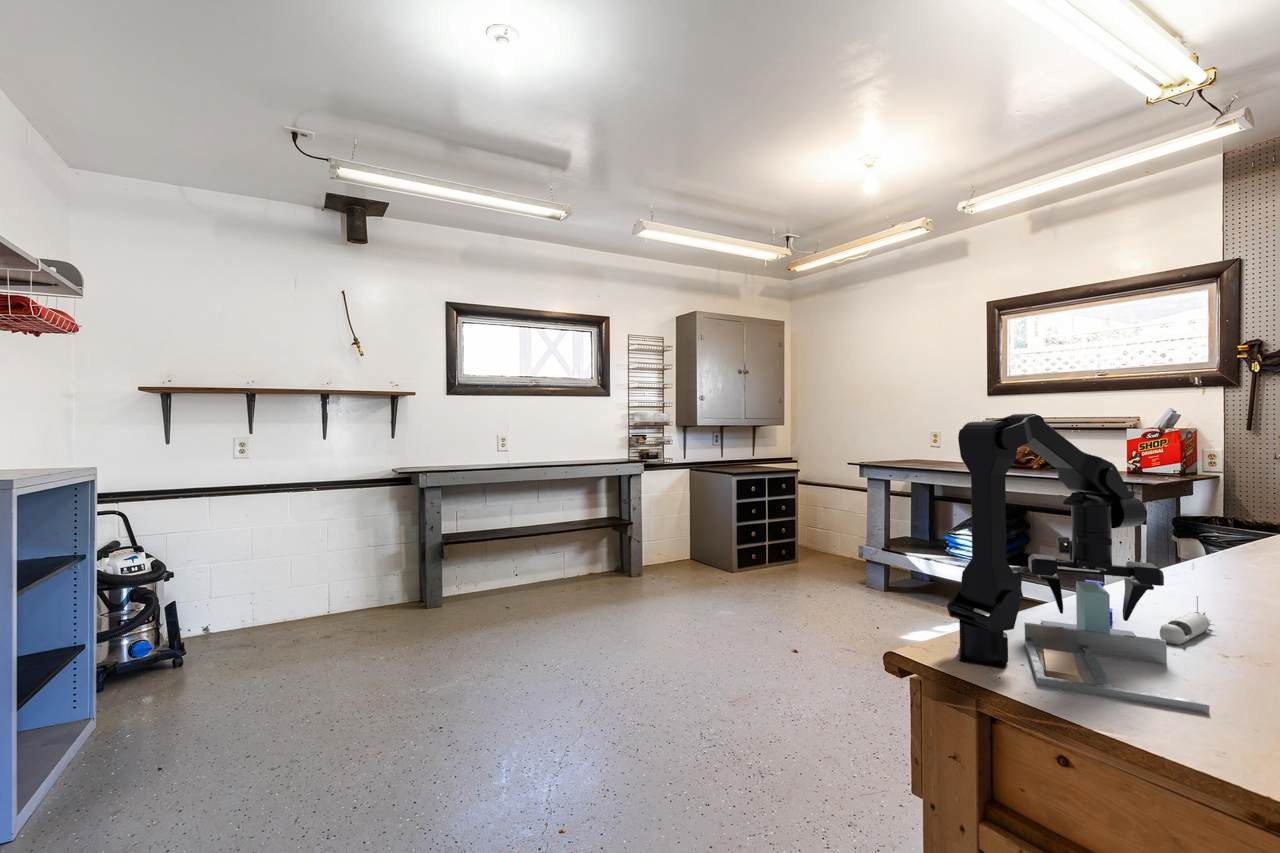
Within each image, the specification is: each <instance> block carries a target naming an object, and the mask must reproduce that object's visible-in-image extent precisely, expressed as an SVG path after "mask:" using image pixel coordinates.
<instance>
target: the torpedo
mask: <svg viewBox="0 0 1280 853" xmlns="http://www.w3.org/2000/svg"><path fill="white" fill-rule="evenodd" d="M1196 609H1197V610H1196V611H1194V612H1188V613H1185V614H1183V615H1182V616H1178V617H1176V618H1174V619H1173V620H1170V621H1168V623H1167V624H1166V623H1164V624H1163V625H1160V628H1159V637H1160V639H1162V640H1165V641H1166V644H1171V645H1182V644H1183V643H1185V642H1188V641H1189V640H1191V639H1192V638H1195V637H1197V636H1198V635H1200V634H1202V633H1205V632H1207V631H1208V630H1209V627H1211V626H1216V624H1215V623H1212V621H1213V619H1211V618H1208V617H1207V616H1206V611H1204V612H1199V596H1198V595H1197V596H1196Z"/></svg>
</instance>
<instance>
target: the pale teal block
mask: <svg viewBox="0 0 1280 853" xmlns="http://www.w3.org/2000/svg"><path fill="white" fill-rule="evenodd" d="M1075 590H1076V591H1075V595H1076V597H1075V600H1076V625H1077V629H1081V630H1089V631H1097V632H1105V633H1110V629H1111V626H1110V608H1111V606H1110V605H1111V602H1110V601H1111V600H1110V594H1109V593H1108V591H1107V590H1106V589H1105V588H1104V586H1103V587H1102V586H1101V585H1100V584H1099V583H1089V582H1085V581H1078V580H1077V581H1075Z"/></svg>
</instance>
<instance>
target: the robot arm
mask: <svg viewBox="0 0 1280 853" xmlns="http://www.w3.org/2000/svg"><path fill="white" fill-rule="evenodd" d="M958 431H959V432H958V437H957V440H958V447H959V453H960V458H961V460H962V461H963V462H962V463H964V466H965V467H966V468H967V470H968V471H969V473H970V486H971V488H970V496H971V498H970V499H971V504H970V505H971V506H970V507H971V560H969V562H968V564H967V565H966V567H965V568H964V569H963V571H962V572H961V573H962V574H961V579H960V580H961V581H960V582H961V583H960V587H959V588H958V589H957V591H956V592H955V593H954V594H953V596H952V597H951V600H949V602H948V603H947V605H946V608H947V609H946V610H947V612H948V615H949V617H950V618H955V619H957V620H959V621H958V622H959V623H958V624H959V648H958V654H959V655H958V661H959V662H960V663H965V664H971V665H976V666H982V667H989V668H995V669H1001V670H1005V669H1006V663H1008V662H1009V638H1008V634H1007V633H1006V632H1005V631H1010V630H1014V629H1015V626H1016V621H1017V617H1018V614H1019V610H1020V605H1021V598H1024V595H1023V591H1022V583H1023V582H1022V581H1023V576H1022V572H1020V571H1019V570H1018V571H1017V570H1015V569H1012V567H1011V566H1010V564H1009V563H1008V561H1007V560H1008V559H1007V558H1008V557H1007V504H1006V502H1007V500H1006V499H1007V496H1006V494H1007V492H1006V490H1007V489H1006V475H1007V473H1008V472H1009V470H1010V469H1011V467H1012V465H1014V463H1015V461H1016V459H1017V453H1018V448H1019V447H1021V446H1026V447H1027V448H1028V449H1030V450H1031V451H1033V452H1034V453H1035V454H1036V455H1038V456H1039V457H1040V458H1042V459H1043V460H1044V461H1046V462H1047V463H1048V464H1050V465H1051V466H1052V467H1054V468H1055V469H1056V470H1057V477H1058V479H1059V480H1060V481H1061V483H1062V484H1064V486H1065V487H1066V488H1067V489H1068V490H1070V491H1072V492H1071V494H1070V495H1069V496H1068V497H1067V498H1064V500H1063V501H1062V505H1064V506H1068V507H1069V506H1071V507H1070V508H1071V509H1070V510H1071V511H1070V512H1071V539H1070V537H1069V536H1057V537H1056V553H1057V554H1058V555H1067V556H1068V561H1067V560H1066V561H1064V560H1057V558H1056V557H1055V556H1054V555H1053V554H1052V555H1050V554H1049V555H1048V554H1038V553H1032V554H1030V555H1029V556H1028V559H1027V560H1028V569H1029V571H1030V574H1033V575H1037V576H1038V578H1039V579H1040V580H1043V581H1046V582H1047V584H1048V586H1049V588H1050V590H1051V593H1052V594H1053V598H1054V600H1055V603H1056V606H1057V609H1058V610H1059V611H1058V612H1059V614H1064V602H1063V601H1064V600H1063V594H1062V587H1061V580H1060V577H1059V575H1058V572H1067V573H1077V574H1078V573H1079V574H1090V575H1100V576H1111V577H1120V578H1121V577H1122V578H1123V579H1124V596H1123V603H1122V619H1123V621H1124V622H1128V621H1129V619H1130V617H1131V615H1132V614H1133V611H1134V609H1135V608H1136V606H1137V604H1138V603H1139V601H1140V600H1141V598H1142V597H1143V596H1144V595H1145V593H1146V592H1147V591H1149V590H1150V591H1153V590H1155V586H1159V587H1161V586H1162V587H1163V586H1165V575H1164V572H1163V570H1161V569H1160V568H1158V567H1157V566H1156V565H1155V564H1153V563H1151V562H1144V561H1143V562H1141V561H1140V562H1139V561H1131V560H1130V561H1128V560H1127V561H1126V565H1116V564H1115V565H1114V564H1113V539H1112V538H1113V536H1112V535H1113V534H1112V533H1113V532H1112V530H1113V529H1121V528H1131V527H1132V528H1133V527H1139V526H1141V525H1142V524H1144V523H1145V521H1146V520H1147V517H1148V510H1147V508H1146V506H1145V505H1144V503H1143V502H1142V501H1141V500H1140V499H1139V498H1137V497H1136V496H1135V491H1134V490H1130V489H1129V488H1128V486H1127V485H1126V483H1125V481H1124V479H1123V478H1122V476H1121V474H1120V472H1119V470H1118V468H1117V467H1116V465H1115V463H1113V462H1111V461H1109V460H1106V459H1104V458H1103V457H1100V456H1097V455H1093V454H1090V453H1086V452H1085V451H1082V450H1081V449H1079V448H1078V446H1076V445H1074V444H1073V443H1072V442H1071V441H1069V440H1068V439H1067V438H1065V437H1064V436H1063V435H1062V434H1060V432H1058V431H1057V430H1055V429H1054V428H1053V427H1052V426H1050V425H1049V424H1048V423H1047V422H1045V419H1044V418H1043V417H1042V416H1041V415H1039V414H1036V413H1015V414H1014V413H1013V414H1010V415H1007V416H1004V417H1002V418H997V419H993V420H988V421H987V420H985V421H969V422H967V423H965V424H964V425H963V426H962V428H960V429H959V430H958ZM975 610H977V611H981V612H984V613H987V614H989V615H986V614H984V613H981V612H977V611H975Z"/></svg>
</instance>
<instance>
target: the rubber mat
mask: <svg viewBox="0 0 1280 853" xmlns="http://www.w3.org/2000/svg"><path fill="white" fill-rule="evenodd" d="M1040 621H1041V622H1040V623H1041V625H1049V626H1057V627H1065V628H1073V629H1077V623H1076V624H1075V623H1073V624H1072V623H1068V622H1067V623H1065V622H1057V621H1049V620H1040ZM1110 633H1113V634H1121V635H1129V636H1137V635H1136V634H1135V632H1133V631H1132V630H1122V629H1115V628H1110Z"/></svg>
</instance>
